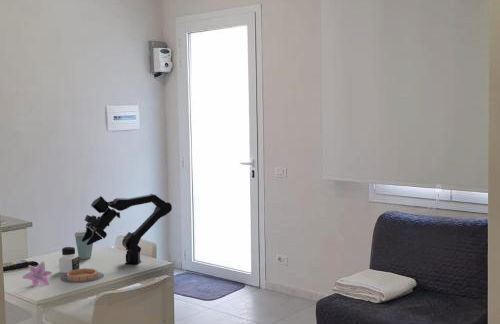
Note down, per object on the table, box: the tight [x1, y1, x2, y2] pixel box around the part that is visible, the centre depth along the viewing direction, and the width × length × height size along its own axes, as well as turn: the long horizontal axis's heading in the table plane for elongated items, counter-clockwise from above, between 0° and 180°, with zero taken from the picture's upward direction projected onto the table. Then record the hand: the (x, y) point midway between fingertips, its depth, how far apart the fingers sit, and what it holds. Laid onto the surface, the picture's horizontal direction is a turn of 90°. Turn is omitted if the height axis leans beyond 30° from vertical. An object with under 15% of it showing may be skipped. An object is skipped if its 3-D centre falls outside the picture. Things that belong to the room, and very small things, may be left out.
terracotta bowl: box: [66, 267, 99, 281], centre depth 281 cm, size 14×14×2 cm
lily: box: [21, 260, 53, 288], centre depth 270 cm, size 12×12×10 cm
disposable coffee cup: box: [74, 229, 94, 260], centre depth 320 cm, size 11×11×15 cm
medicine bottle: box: [58, 246, 81, 274], centre depth 291 cm, size 7×7×12 cm
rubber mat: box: [59, 271, 105, 284], centre depth 281 cm, size 20×20×1 cm
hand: (84, 243), depth 295 cm, fingers open, 9 cm apart
